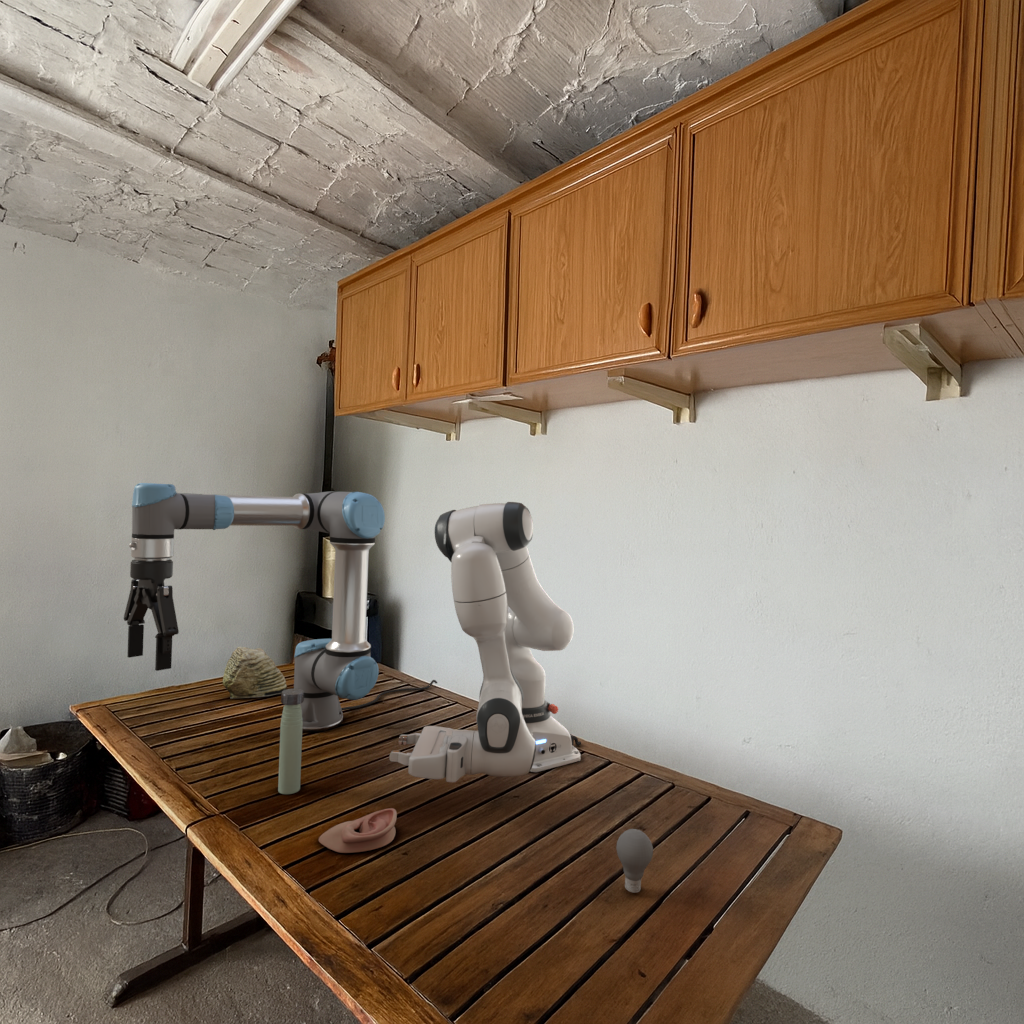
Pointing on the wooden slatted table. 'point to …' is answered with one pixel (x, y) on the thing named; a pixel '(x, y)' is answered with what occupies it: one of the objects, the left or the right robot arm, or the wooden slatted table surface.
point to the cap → (292, 696)
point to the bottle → (290, 749)
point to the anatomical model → (362, 833)
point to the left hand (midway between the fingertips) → (148, 662)
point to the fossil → (252, 674)
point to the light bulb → (634, 857)
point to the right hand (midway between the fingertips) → (394, 747)
